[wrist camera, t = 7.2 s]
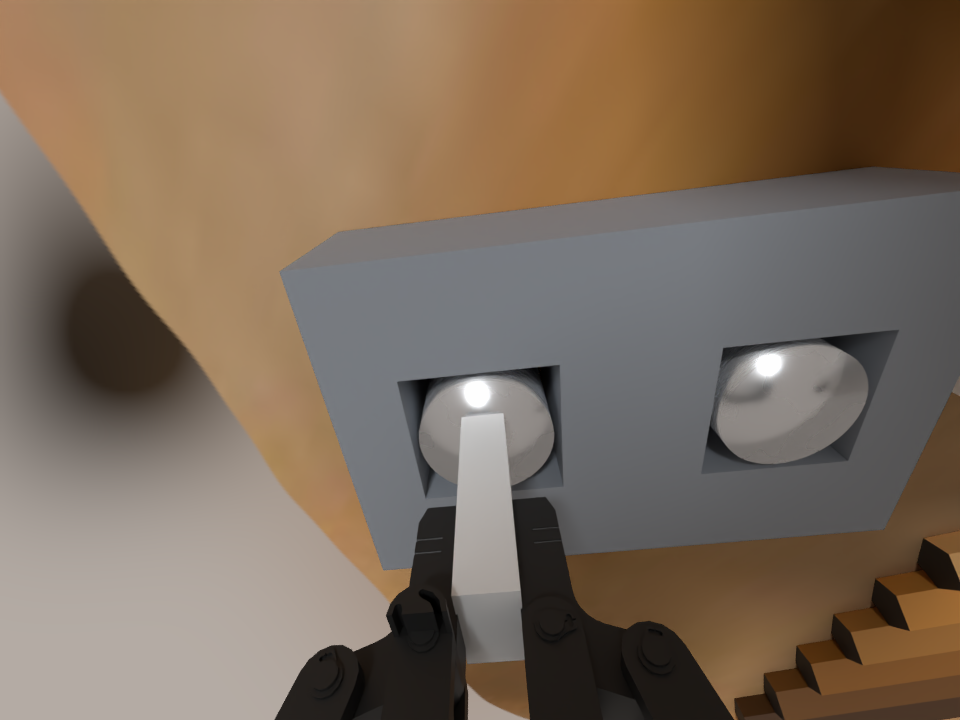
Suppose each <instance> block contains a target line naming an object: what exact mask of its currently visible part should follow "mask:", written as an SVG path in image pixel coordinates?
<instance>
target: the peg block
mask: <svg viewBox="0 0 960 720" xmlns="http://www.w3.org/2000/svg"><path fill="white" fill-rule="evenodd" d="M280 275H281V278H282V281H283V284H284V287H285V289H286V292H287V295H288V298H289V301H290V304H291V307H292V309H293V312H294V315H295V318H296V321H297V324H298V327H299V330H300V332H301V335H302V338H303V341H304V344H305V347H306V350H307V352H308V355H309V358H310V361H311V364H312V367H313V370H314V373H315V375H316V378H317V381H318V384H319V387H320V390H321V393H322V396H323V398H324V401H325V404H326V407H327V410H328V413H329V416H330V418H331V421H332V424H333V427H334V430H335V433H336V436H337V439H338V441H339V444H340V447H341V450H342V453H343V456H344V459H345V461H346V464H347V467H348V470H349V473H350V476H351V479H352V482H353V484H354V487H355V490H356V493H357V496H358V499H359V502H360V504H361V507H362V510H363V513H364V516H365V519H366V522H367V525H368V527H369V530H370V533H371V536H372V539H373V542H374V545H375V548H376V550H377V553H378V556H379V559H380V562H381V565H382V568H383V570H394V569H406V568H412V565H413V558H414V555H415V553H414V552H415V545H416V542H417V532H418V526H419V522H420V520H421V519H422V517H423V515H424V514H425V512H426V510H427V509H428V508H435V507H446V506H456V505H457V487H458V485H457V484H454V483H452V482H450V481H448V480H446V479H445V478H443V477H442V476H440V475H439V474H438V473H437V472H435V471H434V470H433V469H432V468H431V467H430V465H429V464H428V463H427V461H426V460H425V458H424V456H423V454H422V451H421V448H420V444H419V429H420V424H421V419H422V414H423V409H424V404H425V399H426V394H427V389H428V384H429V379H430V378H437V377H447V376H456V375H466V374H476V373H485V372H495V371H505V370H514V369H524V368H533V367H541V381H542V385H543V389H544V393H545V397H546V401H547V404H548V408H549V412H550V416H551V420H552V423H553V428H554V442H553V447H552V450H551V453H550V455H549V457H548V458H547V460H546V462H545V463H544V464H543V466H542V467H541V468H540V469H539V470H538V471H537V472H535V473H534V474H533V475H532V476H530V477H529V478H527V479H525V480H524V481H521V482H519V483H517V484H515V485H512V486H511V489H512V499H513V500H514V499H525V498H536V497H546V498H547V499H548V501H549V502H550V503H551V505H552V506H553V507H554V509H555V510H556V515H557V520H558V524H559V529H560V534H561V538H562V543H563V548H564V553H565V556H566V555H578V554H591V553H603V552H615V551H627V550H640V549H652V548H664V547H677V546H689V545H701V544H713V543H726V542H738V541H750V540H763V539H775V538H787V537H799V536H812V535H824V534H836V533H849V532H861V531H873V530H884V529H885V527H886V525H887V523H888V521H889V519H890V516H891V514H892V512H893V510H894V508H895V506H896V504H897V502H898V500H899V498H900V496H901V494H902V492H903V490H904V488H905V486H906V484H907V482H908V480H909V478H910V476H911V474H912V472H913V470H914V468H915V466H916V464H917V462H918V460H919V457H920V455H921V453H922V451H923V449H924V447H925V445H926V443H927V441H928V439H929V437H930V435H931V433H932V431H933V429H934V427H935V425H936V423H937V421H938V419H939V417H940V415H941V413H942V411H943V409H944V407H945V405H946V403H947V401H948V399H949V396H950V394H951V392H952V390H953V388H954V386H955V384H956V382H957V380H958V378H959V376H960V173H956V172H942V171H928V170H914V169H899V168H885V167H866V168H858V169H849V170H841V171H833V172H825V173H817V174H809V175H800V176H792V177H784V178H776V179H768V180H760V181H751V182H743V183H735V184H727V185H719V186H711V187H702V188H694V189H686V190H678V191H670V192H662V193H653V194H645V195H637V196H629V197H621V198H613V199H604V200H596V201H588V202H580V203H572V204H564V205H555V206H547V207H539V208H531V209H523V210H515V211H506V212H498V213H490V214H482V215H474V216H466V217H457V218H449V219H441V220H433V221H425V222H417V223H408V224H400V225H392V226H384V227H376V228H368V229H359V230H351V231H343V232H338V233H336V234H335V235H333V236H332V237H330V238H329V239H327V240H326V241H324V242H323V243H321V244H320V245H318V246H317V247H315V248H314V249H312V250H311V251H309V252H308V253H306V254H305V255H303V256H302V257H300V258H299V259H297V260H296V261H294V262H293V263H291V264H290V265H289V266H287V267H286V268H284V269H283V270H281V271H280ZM813 338H821V339H823V340H825V341H826V342H828V343H830V344H832V345H833V346H835V347H837V348H838V349H840V350H842V351H844V352H845V353H847V354H849V355H851V356H852V357H854V358H855V359H856V360H857V361H858V362H859V363H860V364H861V365H862V366H863V368H864V370H865V372H866V374H867V378H868V396H867V399H866V402H865V405H864V407H863V409H862V411H861V413H860V415H859V416H858V418H857V419H856V421H855V422H854V423H853V424H852V426H851V427H850V428H849V429H848V430H847V431H846V432H845V433H844V434H843V435H842V436H840V437H839V438H838V439H837V440H835V441H834V442H833V443H831V444H830V445H828V446H827V447H825V448H823V449H822V450H820V451H818V452H816V453H814V454H812V455H809V456H807V457H804V458H801V459H798V460H795V461H791V462H786V463H779V464H760V463H754V462H750V461H747V460H744V459H742V458H740V457H738V456H737V455H735V454H734V453H733V452H732V451H731V450H729V449H728V447H727V446H726V445H725V444H724V442H723V441H722V440H721V439H720V437H719V436H718V435H717V434H716V432H715V431H714V430H713V429H712V428H711V426H710V420H711V414H712V409H713V403H714V397H715V392H716V386H717V380H718V375H719V369H720V363H721V358H722V352H723V348H726V347H736V346H745V345H755V344H765V343H774V342H784V341H794V340H803V339H813Z"/></svg>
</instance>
